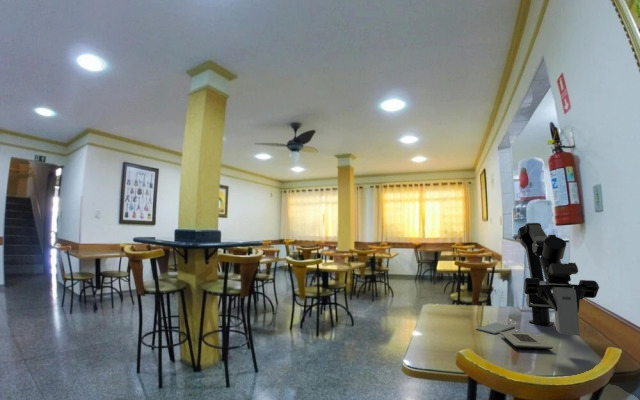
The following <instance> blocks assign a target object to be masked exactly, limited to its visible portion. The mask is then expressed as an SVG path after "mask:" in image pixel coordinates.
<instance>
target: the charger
mask: <svg viewBox="0 0 640 400" xmlns="http://www.w3.org/2000/svg"><path fill="white" fill-rule="evenodd" d="M551 291H552V293H553V298H554V300H555V303H556V305H557V311H555V310H554V309H553V311H554V324H555V330H556V331H557V332H558V333H559V334H560V335H570V336H581V331H580V323H579V312H578V310H577V299H576V290H574V289H572V288H564V287H552V290H551Z"/></svg>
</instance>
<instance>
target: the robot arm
mask: <svg viewBox="0 0 640 400" xmlns="http://www.w3.org/2000/svg"><path fill="white" fill-rule="evenodd" d="M517 239H518V240H519V242H520V245H521V246H522V247H523V248H524V249H525V253H526V258H527V263H528V264H527V265H528V270H529V275H530V276H529V277H526V278H524V281H523V292H524V294H525V295H526V298H525V303H526V306H527V307H528V308H531V318H532V319H531V320H528V323H531V324H536V325H539V326H544V327H549V326H551V325H554V324H555V321H551V319H550V318H551V317H550V310H553V311H554V310H555V311H557V305H556V303H555V300H554V298H553V290H552V287H564V288H572V289H574V290H576V299H577V310H578V313H579V311H580V302H581V300H584V299H594V298H596V297H597V295H598V292H599V289H600V286H599V283H598V282H597V281H596V280H591V279H590V280H589V279H588V280H587V279H579V283H578V284H574V283H573V284H572V283H570V282H571V280H572V278H571V276H572V275H577V274H578V273H579V269H578V265H577V263H576V262H568V263H562V260H563V258H564V255H565V252H566V248H567V242H566V241H565V240H564V239H563V238H561V237H558V236H556V234H548V235H547V234H546V232H545V231H544V230H543V227H542V225H541V223H539V222H527V223H525V224H524V225H523V226H521V227H518V230H517Z"/></svg>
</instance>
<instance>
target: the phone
mask: <svg viewBox="0 0 640 400" xmlns="http://www.w3.org/2000/svg"><path fill="white" fill-rule="evenodd" d="M515 328H516V327H515V326H513V325H510V324H509V325H508V324H504V323H500V322H494V323H490V324H487V325H483V326H480V327H477V328H475V331H480V332H483V333H487V334H491V335H494V336H496V335H499V334H500V333H499V332H508V331H509V330H510V331H511V330H513V329H515Z"/></svg>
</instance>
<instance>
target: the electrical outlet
mask: <svg viewBox="0 0 640 400" xmlns="http://www.w3.org/2000/svg"><path fill="white" fill-rule="evenodd" d="M499 334H500V335H501V336H502V337H504V338H505V340H506V341H508V342H509V343H511V344H512V345H513V346H514V347H515V348H517V349H518V348H519V349H520V348H521V349H533V348H534V349H533V350H538V349H539V350H553V349H554V346H553V345H551V344H550V343H548V342H547V341H546V340H544V339H542V338H541V337H539V336H538V335H536V334H534V333H533V332H513V331H512V332H511V331H510V332H509V331H505V332H499Z"/></svg>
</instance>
